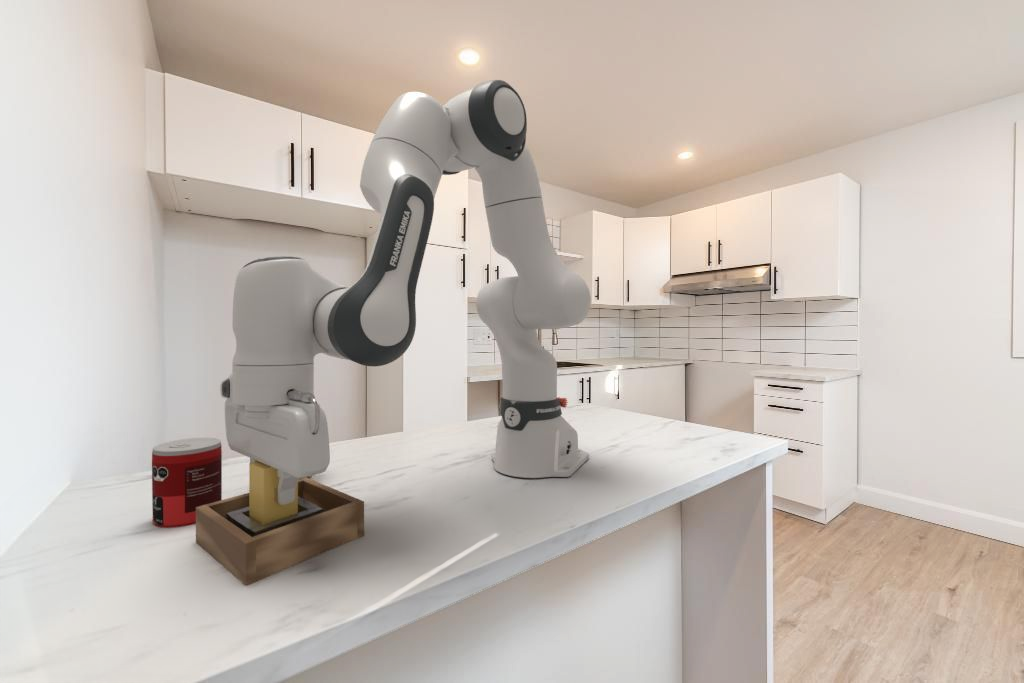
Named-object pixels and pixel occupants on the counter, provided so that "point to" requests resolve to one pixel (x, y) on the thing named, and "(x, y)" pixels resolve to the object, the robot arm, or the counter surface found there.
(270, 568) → the walled box
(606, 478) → the counter surface
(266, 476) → the plug
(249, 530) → the socket
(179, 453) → the canned food
